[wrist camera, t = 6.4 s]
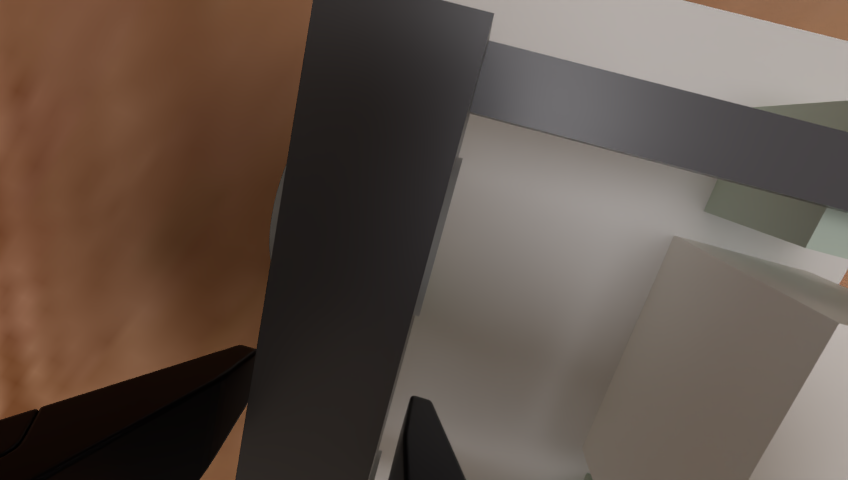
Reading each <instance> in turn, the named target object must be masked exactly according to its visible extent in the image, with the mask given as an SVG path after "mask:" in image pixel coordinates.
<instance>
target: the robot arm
mask: <svg viewBox="0 0 848 480" xmlns="http://www.w3.org/2000/svg"><path fill="white" fill-rule="evenodd" d="M256 350H257V349H254V348H250V347H247V346H244V345H238V346H234V347H231V348H228V349H225V350H222V351H218V352H215V353H212V354H209V355H206V356H203V357H199V358H196V359H193V360H190V361H187V362H183V363H180V364H177V365H174V366H171V367H168V368H164V369H161V370H158V371H155V372H152V373H148V374H145V375H142V376H139V377H136V378H133V379H129V380H126V381H123V382H120V383H117V384H113V385H110V386H107V387H104V388H101V389H97V390H94V391H91V392H88V393H85V394H82V395H78V396H75V397H72V398H69V399H66V400H62V401H59V402H56V403H53V404H50V405H46V406H43V407H41V408H40V409H39V411H38V410H37V409H33V410H30V411H27V412H24V413H21V414H18V415H14V416H11V417H8V418H5V419H1V420H0V480H200V478H201V477H202V475H203V474H204V473H205V471H206V470H207V468H208V467H209V466H210V464H211V462H212V461H213V459H214V458H215V456H216V455H217V453H218V451H219V450H220V448H221V446H222V445H223V443H224V441H225V440H226V438H227V436H228V435H229V433H230V431H231V430H232V428H233V427H234V425H235V423H236V422H237V420H238V418H239V417H240V415H241V413H242V412H243V410H244V408H245V407H246V405H247V403H248V399H249V393H250V387H251V381H252V375H253V368H254V362H255V356H256ZM388 480H466V478H465V476H464V474H463V471H462V469H461V467H460V464H459V462H458V460H457V458H456V455H455V453H454V451H453V449H452V446H451V444H450V442H449V440H448V437H447V435H446V433H445V430H444V428H443V426H442V424H441V421H440V419H439V417H438V415H437V412H436V410H435V408H434V406H433V403H432V402H431V401H430V400H428V399H425V398H421V397H418V396H414V395H413V396H411V397H410V400H409V403H408V407H407V410H406V414H405V417H404V421H403V424H402V428H401V431H400V435H399V439H398V443H397V447H396V450H395V454H394V458H393V462H392V466H391V470H390V474H389V478H388Z"/></svg>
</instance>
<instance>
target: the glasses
mask: <svg viewBox="0 0 848 480" xmlns="http://www.w3.org/2000/svg"><path fill="white" fill-rule="evenodd" d="M493 17H494V13H491V12H487V11H483V10H479V9H475V8H471V7H467V6H463V5H459V4H456V3H452V2H448V1H444V0H313V4H312V11H311V17H310V23H309V29H308V35H307V41H306V48H305V54H304V60H303V66H302V72H301V78H300V85H299V91H298V97H297V103H296V109H295V115H294V122H293V128H292V134H291V140H290V146H289V152H288V159H287V164H286V167H285V169H284V172H283V175H282V177H281V180H280V184H279V187H278V190H277V194H276V198H275V202H274V207H273V212H272V218H271V226H270V238H269V249H270V259H271V263H270V270H269V276H268V282H267V288H266V294H265V301H264V307H263V313H262V319H261V325H260V331H259V338H258V344H257V350H256V356H255V362H254V368H253V375H252V381H251V387H250V393H249V399H248V405H247V412H246V418H245V424H244V430H243V436H242V442H241V449H240V455H239V461H238V467H237V473H236V479H235V480H374V479H375V476H376V472H377V468H378V465H379V461H380V458H381V454H382V451H381V450H379V447H380V443H381V439H382V436H383V432H384V428H385V425H386V421H387V417H388V414H389V410H390V406H391V403H392V399H393V395H394V392H395V388H396V384H397V381H398V377H399V373H400V370H401V366H402V362H403V359H404V355H405V351H406V348H407V344H408V340H409V336H410V333H411V329H412V325H413V322H414V318H415V316H419V315H420V312H421V308H422V304H423V301H424V297H425V294H426V290H427V287H428V283H429V279H430V276H431V272H432V269H433V265H434V261H435V258H436V254H437V251H438V247H439V243H440V240H441V236H442V233H443V229H444V225H445V222H446V218H447V214H448V211H449V207H450V203H451V200H452V196H453V193H454V189H455V185H456V182H457V178H458V174H459V171H460V167H461V163H462V159H463V158H459V153H460V149H461V146H462V142H463V138H464V135H465V131H466V127H467V124H468V120H469V116H470V114H473V115H477V116H480V117H484V118H488V119H492V120H496V121H499V122H503V123H507V124H511V125H515V126H518V127H522V128H526V129H530V130H534V131H537V132H541V133H545V134H549V135H553V136H557V137H560V138H564V139H568V140H572V141H576V142H579V143H583V144H587V145H591V146H595V147H598V148H602V149H606V150H610V151H614V152H617V153H621V154H625V155H629V156H633V157H636V158H640V159H644V160H648V161H652V162H655V163H659V164H663V165H667V166H671V167H674V168H678V169H682V170H686V171H690V172H693V173H697V174H701V175H705V176H709V177H712V178H716V179H720V180H724V181H728V182H731V183H735V184H739V185H743V186H747V187H750V188H754V189H758V190H762V191H766V192H769V193H773V194H777V195H781V196H785V197H788V198H792V199H796V200H800V201H804V202H807V203H811V204H815V205H819V206H823V207H826V208H830V209H834V210H838V211H842V212H845V213H848V132H845V131H842V130H838V129H834V128H830V127H826V126H822V125H818V124H814V123H810V122H806V121H802V120H799V119H795V118H791V117H787V116H783V115H779V114H775V113H771V112H767V111H763V110H759V109H755V108H752V107H748V106H744V105H740V104H736V103H732V102H728V101H724V100H720V99H716V98H712V97H709V96H705V95H701V94H697V93H693V92H689V91H685V90H681V89H677V88H673V87H669V86H665V85H662V84H658V83H654V82H650V81H646V80H642V79H638V78H634V77H630V76H626V75H622V74H619V73H615V72H611V71H607V70H603V69H599V68H595V67H591V66H587V65H583V64H579V63H575V62H572V61H568V60H564V59H560V58H556V57H552V56H548V55H544V54H540V53H536V52H532V51H529V50H525V49H521V48H517V47H513V46H509V45H505V44H501V43H497V42H493V41H489V39H490V33H491V28H492V23H493Z"/></svg>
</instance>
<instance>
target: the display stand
mask: <svg viewBox="0 0 848 480" xmlns="http://www.w3.org/2000/svg"><path fill="white" fill-rule="evenodd" d="M444 1H448V2H452V3H456V4H459V5H463V6H467V7H471V8H475V9H479V10H483V11H487V12H491V13H494V17H493V23H492V28H491V33H490V39H489V41H493V42H497V43H501V44H505V45H509V46H513V47H517V48H521V49H525V50H529V51H532V52H536V53H540V54H544V55H548V56H552V57H556V58H560V59H564V60H568V61H572V62H575V63H579V64H583V65H587V66H591V67H595V68H599V69H603V70H607V71H611V72H615V73H619V74H622V75H626V76H630V77H634V78H638V79H642V80H646V81H650V82H654V83H658V84H662V85H665V86H669V87H673V88H677V89H681V90H685V91H689V92H693V93H697V94H701V95H705V96H709V97H712V98H716V99H720V100H724V101H728V102H732V103H736V104H740V105H744V106H748V107H752V108H755V109H759V110H763V111H767V112H771V113H775V114H779V115H783V116H787V117H791V118H795V119H799V120H802V121H806V122H810V123H814V124H818V125H822V126H826V127H830V128H834V129H838V130H842V131H845V132H848V41H845V40H841V39H837V38H833V37H829V36H825V35H821V34H817V33H813V32H809V31H805V30H801V29H797V28H793V27H789V26H784V25H780V24H776V23H772V22H768V21H764V20H760V19H756V18H752V17H748V16H744V15H740V14H736V13H732V12H728V11H724V10H720V9H716V8H712V7H708V6H704V5H700V4H696V3H692V2H688V1H683V0H444ZM459 158H463V159H462V163H461V167H460V171H459V174H458V178H457V182H456V185H455V189H454V193H453V196H452V200H451V203H450V207H449V211H448V214H447V218H446V222H445V225H444V229H443V233H442V236H441V240H440V243H439V247H438V251H437V254H436V258H435V261H434V265H433V269H432V272H431V276H430V279H429V283H428V287H427V290H426V294H425V297H424V301H423V304H422V308H421V312H420V315H419V316H415V318H414V322H413V325H412V329H411V333H410V336H409V340H408V344H407V348H406V351H405V355H404V359H403V362H402V366H401V370H400V373H399V377H398V381H397V384H396V388H395V392H394V395H393V399H392V403H391V406H390V410H389V414H388V417H387V421H386V425H385V428H384V432H383V436H382V439H381V443H380V447H379V450H381V451H382V454H381V458H380V461H379V465H378V468H377V472H376V476H375V479H374V480H388V478H389V474H390V470H391V466H392V462H393V458H394V454H395V450H396V447H397V443H398V439H399V435H400V431H401V428H402V424H403V421H404V417H405V414H406V410H407V407H408V403H409V400H410V397H411V396H413V395H414V396H418V397H421V398H425V399H428V400H430V401H431V402H432V403H433V406H434V408H435V410H436V412H437V415H438V417H439V419H440V421H441V424H442V426H443V428H444V430H445V433H446V435H447V437H448V440H449V442H450V444H451V446H452V449H453V451H454V453H455V455H456V458H457V460H458V462H459V464H460V467H461V469H462V471H463V474H464V476H465V478H466V480H848V288H846V287H843V286H841V285H839V283H840V282H841V280H842V278H843V276H844V275H845V273H846V271H847V269H848V213H845V212H842V211H838V210H834V209H830V208H826V207H823V206H819V205H815V204H811V203H807V202H804V201H800V200H796V199H792V198H788V197H785V196H781V195H777V194H773V193H769V192H766V191H762V190H758V189H754V188H750V187H747V186H743V185H739V184H735V183H731V182H728V181H724V180H720V179H716V178H712V177H709V176H705V175H701V174H697V173H693V172H690V171H686V170H682V169H678V168H674V167H671V166H667V165H663V164H659V163H655V162H652V161H648V160H644V159H640V158H636V157H633V156H629V155H625V154H621V153H617V152H614V151H610V150H606V149H602V148H598V147H595V146H591V145H587V144H583V143H579V142H576V141H572V140H568V139H564V138H560V137H557V136H553V135H549V134H545V133H541V132H537V131H534V130H530V129H526V128H522V127H518V126H515V125H511V124H507V123H503V122H499V121H496V120H492V119H488V118H484V117H480V116H477V115H473V114H470V116H469V120H468V124H467V127H466V131H465V135H464V138H463V142H462V146H461V149H460V153H459Z"/></svg>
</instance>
